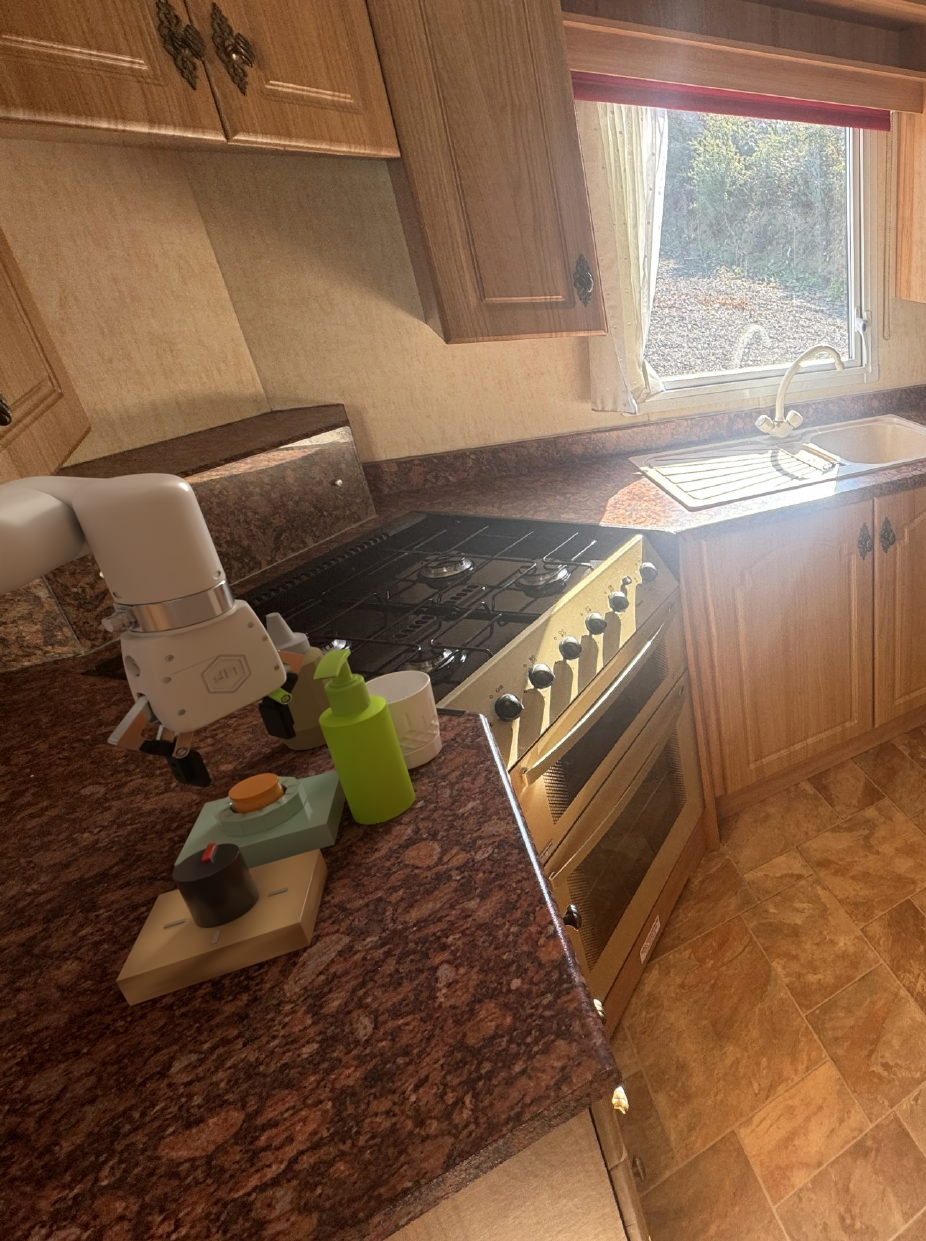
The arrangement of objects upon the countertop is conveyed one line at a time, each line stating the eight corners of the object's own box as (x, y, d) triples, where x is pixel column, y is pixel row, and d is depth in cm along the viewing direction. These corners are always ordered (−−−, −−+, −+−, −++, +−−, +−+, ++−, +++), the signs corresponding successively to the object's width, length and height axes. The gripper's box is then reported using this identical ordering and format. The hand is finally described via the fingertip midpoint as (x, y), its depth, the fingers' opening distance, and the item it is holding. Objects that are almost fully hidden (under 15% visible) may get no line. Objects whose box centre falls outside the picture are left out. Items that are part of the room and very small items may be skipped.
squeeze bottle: (364, 714, 99) (326, 596, 92) (341, 750, 92) (297, 625, 85) (293, 725, 96) (248, 604, 90) (264, 762, 89) (213, 634, 83)
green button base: (184, 888, 72) (165, 849, 70) (214, 824, 80) (198, 787, 78) (334, 844, 77) (320, 807, 75) (348, 789, 85) (336, 754, 83)
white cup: (431, 772, 88) (411, 703, 84) (360, 778, 87) (336, 708, 83) (458, 733, 95) (440, 668, 92) (393, 738, 94) (372, 672, 90)
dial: (254, 914, 65) (232, 865, 63) (188, 936, 63) (163, 886, 61) (263, 881, 69) (243, 834, 67) (202, 900, 67) (179, 852, 64)
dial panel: (129, 1006, 60) (114, 980, 59) (170, 918, 68) (158, 893, 67) (309, 945, 66) (299, 920, 65) (328, 870, 74) (319, 846, 73)
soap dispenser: (344, 837, 78) (286, 679, 71) (360, 796, 84) (308, 646, 77) (408, 822, 80) (358, 667, 73) (419, 783, 86) (374, 636, 79)
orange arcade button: (230, 819, 74) (223, 803, 73) (240, 795, 77) (234, 780, 77) (279, 806, 76) (273, 790, 75) (287, 783, 79) (282, 768, 78)
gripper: (86, 656, 59) (167, 824, 66) (304, 574, 75) (352, 717, 81) (26, 642, 61) (110, 808, 68) (251, 566, 77) (302, 706, 83)
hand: (241, 757), depth 75 cm, fingers open, 7 cm apart
